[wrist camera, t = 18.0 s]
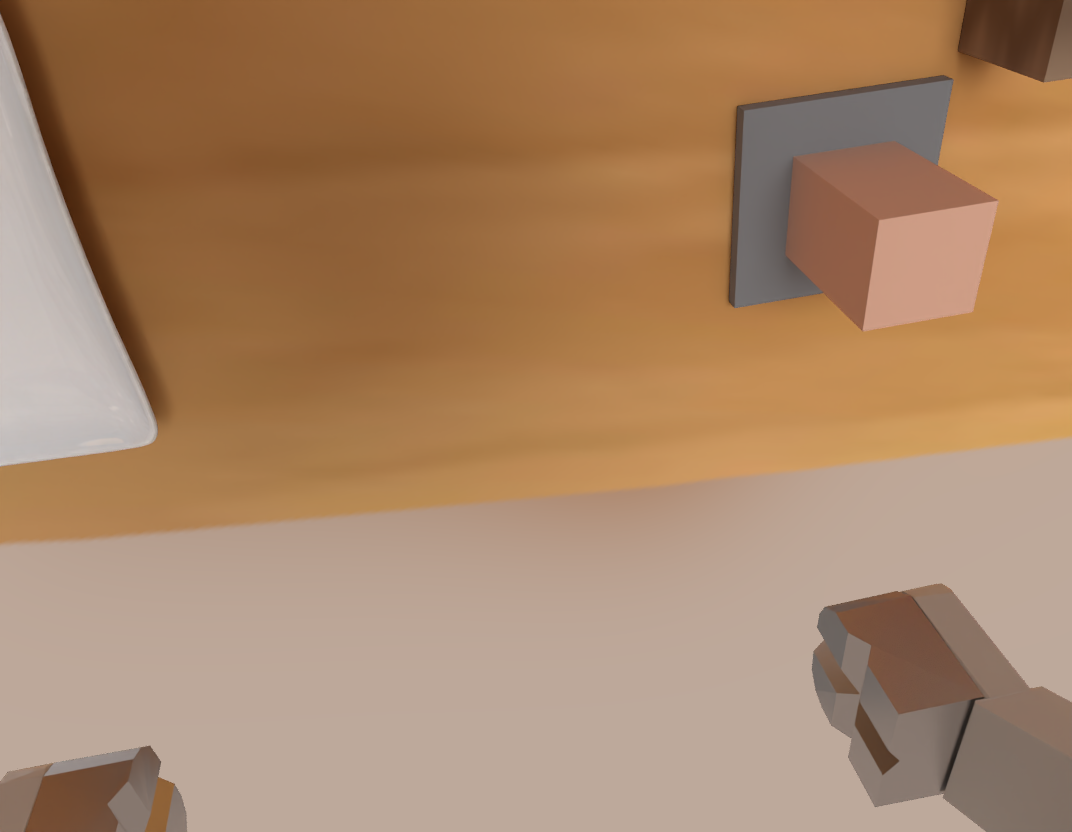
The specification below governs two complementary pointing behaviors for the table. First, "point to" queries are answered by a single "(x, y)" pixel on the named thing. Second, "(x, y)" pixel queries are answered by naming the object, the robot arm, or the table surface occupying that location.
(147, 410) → the salad plate
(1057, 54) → the walnut screen
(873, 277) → the pink block
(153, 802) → the robot arm
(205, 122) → the table surface
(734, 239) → the charcoal mat
